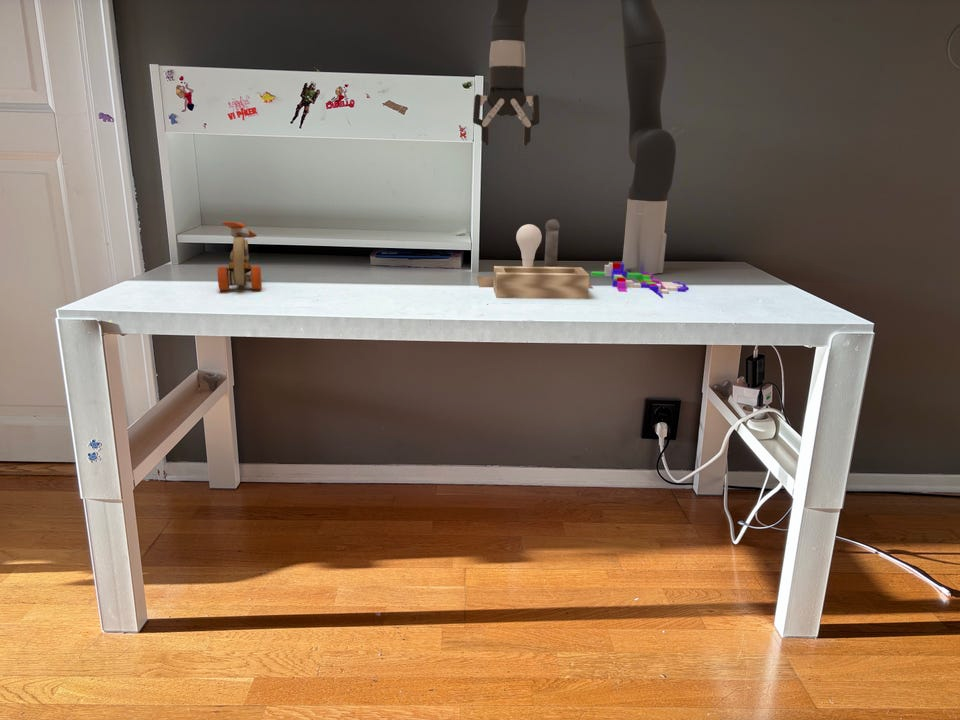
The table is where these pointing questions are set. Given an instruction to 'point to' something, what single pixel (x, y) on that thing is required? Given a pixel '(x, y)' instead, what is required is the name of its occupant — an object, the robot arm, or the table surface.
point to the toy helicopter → (239, 261)
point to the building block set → (646, 280)
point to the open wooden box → (541, 282)
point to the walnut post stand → (550, 252)
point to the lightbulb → (528, 243)
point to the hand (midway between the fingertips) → (505, 145)
